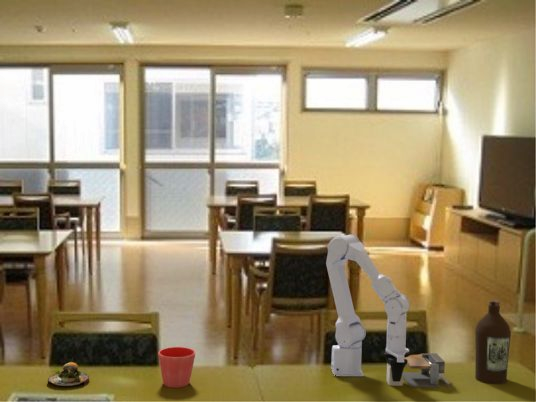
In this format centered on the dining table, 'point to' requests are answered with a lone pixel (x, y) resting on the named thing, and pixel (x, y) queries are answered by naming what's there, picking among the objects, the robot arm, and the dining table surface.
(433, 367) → the frame
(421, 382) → the mat
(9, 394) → the dining table surface
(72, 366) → the burger
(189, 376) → the flower pot
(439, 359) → the trapdoor
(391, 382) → the white rectangular block
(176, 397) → the dining table surface
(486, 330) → the olive oil
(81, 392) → the dining table surface
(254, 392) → the dining table surface
